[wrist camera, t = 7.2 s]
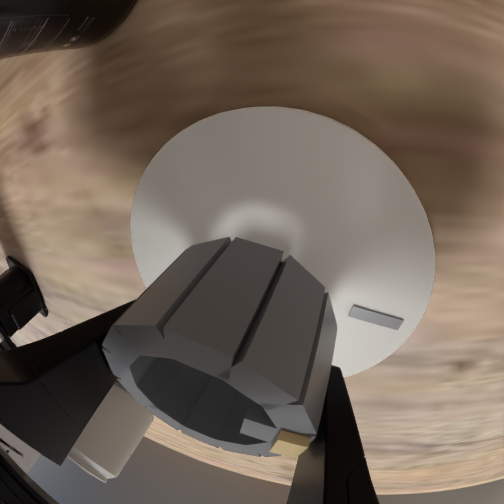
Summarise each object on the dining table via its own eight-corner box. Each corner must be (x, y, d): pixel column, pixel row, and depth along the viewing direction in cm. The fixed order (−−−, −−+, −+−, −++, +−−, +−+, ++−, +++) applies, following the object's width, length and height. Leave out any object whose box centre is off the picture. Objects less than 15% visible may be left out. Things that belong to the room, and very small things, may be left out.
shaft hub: (152, 320, 18) (119, 361, 15) (143, 92, 10) (72, 102, 7) (356, 391, 15) (348, 447, 12) (479, 171, 8) (532, 212, 4)
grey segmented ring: (173, 340, 13) (124, 410, 9) (167, 216, 9) (72, 292, 6) (305, 388, 11) (279, 475, 8) (363, 275, 8) (355, 406, 4)
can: (97, 373, 29) (46, 439, 20) (130, 381, 26) (71, 463, 16) (131, 409, 32) (89, 471, 22) (168, 420, 29) (122, 495, 19)
